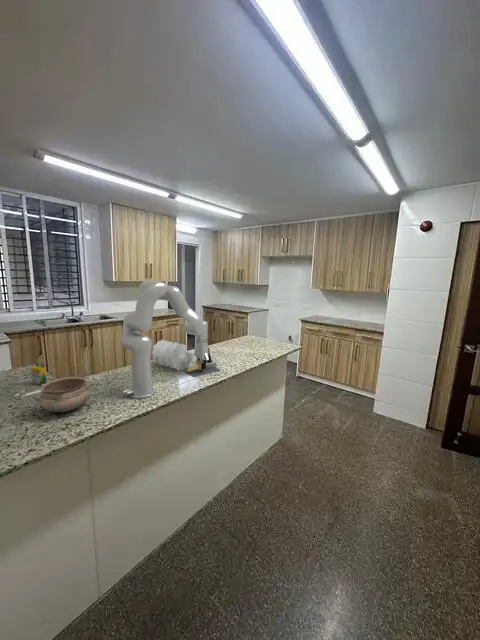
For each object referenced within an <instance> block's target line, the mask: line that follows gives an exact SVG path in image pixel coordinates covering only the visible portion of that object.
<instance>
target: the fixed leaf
mask: <svg viewBox="0 0 480 640" xmlns="http://www.w3.org/2000/svg"><path fill="white" fill-rule="evenodd" d="M200 361H202V359H200ZM206 366H207V369H206V370H208V371H209V370H213V369H217V368H218V367H217V362H212V363H208V364H207V363H206ZM200 372H203V369H200Z"/></svg>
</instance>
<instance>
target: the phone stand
mask: <svg viewBox="0 0 480 640" xmlns="http://www.w3.org/2000/svg"><path fill="white" fill-rule="evenodd" d="M204 358H205V357H204ZM208 359H209V360H208V361H207V363H208V364H212V363H213V360H212V357H211V353H210V347H208ZM204 360H205V359H204Z"/></svg>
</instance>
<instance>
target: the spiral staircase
mask: <svg viewBox="0 0 480 640" xmlns="http://www.w3.org/2000/svg"><path fill="white" fill-rule="evenodd" d="M187 350H188V349H187V346H186V344H183V343H178V342H176V341H175V342H172V341H169V340H164V339H163V338H162V339H161V340H158V341H156V344H154V345H152V352H151V355H152V361H153V362H154V364H156V363H157V364H158V366H161V367H162V366H163V367H165V368H168V367H169V368H170V369H171V370H172V369H175V370H177V371H178V372H180V371H184V370H185V369H186V370H187V367H188V366H191V364H192V362H193V360H194V356H195V355H194V352H189V351H187Z"/></svg>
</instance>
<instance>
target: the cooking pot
mask: <svg viewBox="0 0 480 640" xmlns="http://www.w3.org/2000/svg"><path fill="white" fill-rule="evenodd" d="M87 381H88V379H86V378H85V377H83V376H67V377H60V378H56V379H53V380H49V381H47V383H45V384H44V385H40V390H41V392H40V396H39V397H35V398H34V397H33V398H31V399H30V401H31V402H32V403H36V404H40V405H41V406H42V408H43V409H45V410H47V411H50V412H53V413H60V412H61V414H63V413H64V412H65V413H69V412H72V411H74V410H75V409H77V408H78V407H80V406H81V405H83V404H85V402H86V401H87V400H88V398H89V395H90V391H91V390H93V389H94V388H95V387H96V383H94V382H93V383H91V384H87Z"/></svg>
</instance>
